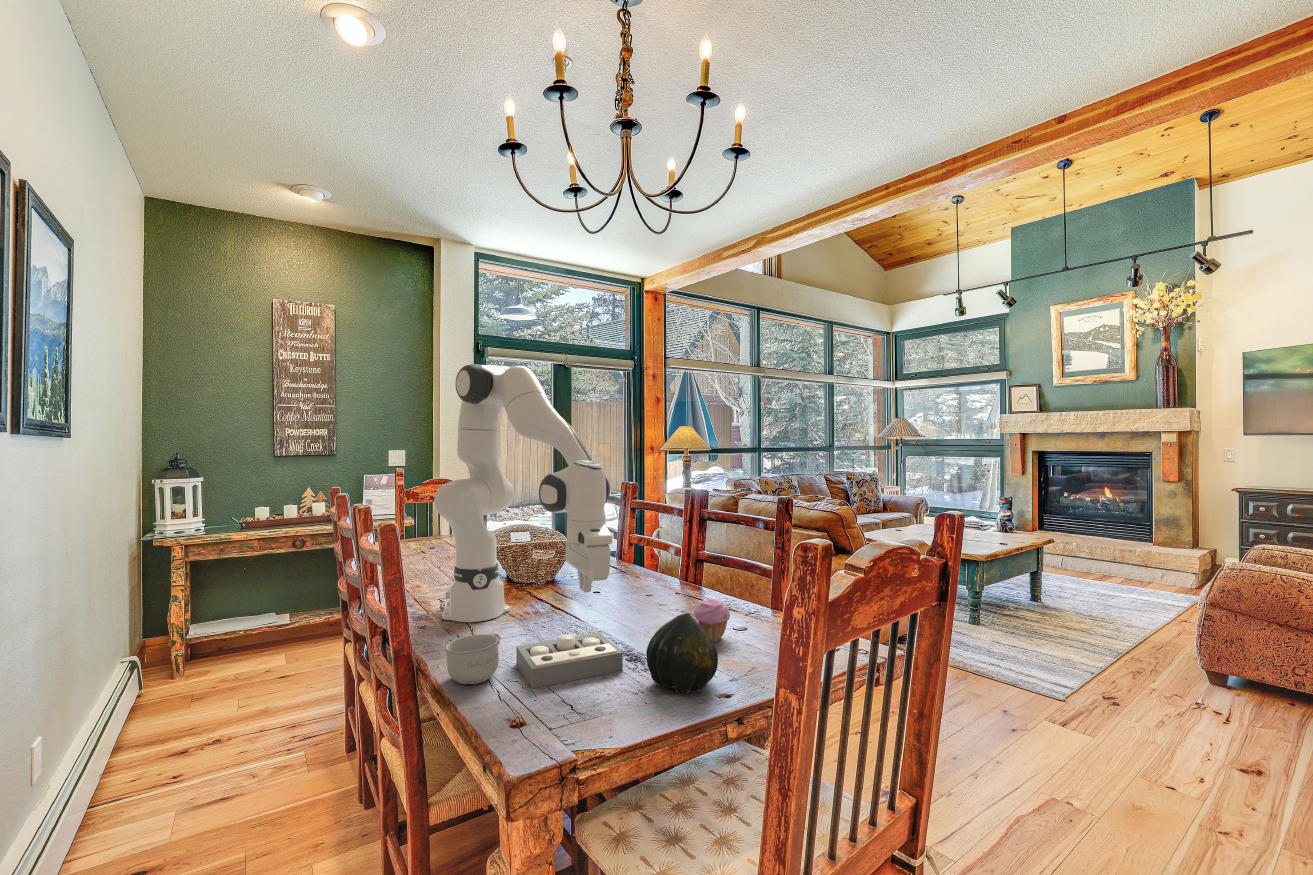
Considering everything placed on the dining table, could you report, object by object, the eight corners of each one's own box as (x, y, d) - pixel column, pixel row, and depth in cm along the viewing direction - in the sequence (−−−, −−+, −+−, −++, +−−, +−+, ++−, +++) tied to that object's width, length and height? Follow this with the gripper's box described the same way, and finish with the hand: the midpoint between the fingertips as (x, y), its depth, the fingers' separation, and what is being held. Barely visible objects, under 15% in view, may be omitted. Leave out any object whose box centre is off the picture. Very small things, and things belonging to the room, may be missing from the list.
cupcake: (687, 638, 148) (687, 599, 148) (708, 630, 154) (709, 592, 154) (716, 647, 142) (716, 606, 142) (736, 638, 148) (737, 599, 148)
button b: (554, 649, 133) (554, 635, 133) (571, 646, 135) (571, 633, 135) (560, 655, 129) (560, 641, 129) (577, 652, 131) (577, 638, 131)
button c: (580, 651, 136) (579, 639, 136) (596, 649, 137) (596, 636, 137) (585, 657, 132) (585, 644, 132) (602, 654, 134) (602, 641, 134)
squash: (651, 681, 110) (697, 614, 115) (623, 656, 124) (665, 597, 128) (702, 720, 114) (744, 655, 119) (669, 692, 128) (709, 634, 132)
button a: (528, 661, 130) (528, 647, 130) (546, 657, 132) (546, 644, 132) (533, 667, 127) (533, 653, 127) (551, 664, 129) (551, 650, 129)
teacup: (469, 694, 117) (469, 654, 117) (434, 682, 123) (434, 644, 123) (520, 670, 129) (520, 634, 129) (486, 660, 134) (485, 625, 134)
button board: (516, 663, 132) (516, 644, 132) (599, 649, 141) (599, 630, 141) (532, 688, 120) (532, 666, 120) (622, 670, 129) (622, 650, 128)
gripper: (559, 524, 143) (558, 580, 143) (588, 539, 125) (587, 604, 125) (584, 522, 146) (583, 578, 146) (615, 537, 128) (614, 601, 128)
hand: (585, 590), depth 135 cm, fingers closed
